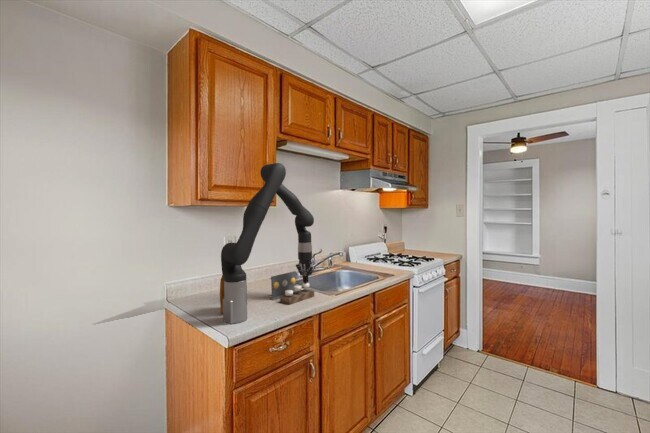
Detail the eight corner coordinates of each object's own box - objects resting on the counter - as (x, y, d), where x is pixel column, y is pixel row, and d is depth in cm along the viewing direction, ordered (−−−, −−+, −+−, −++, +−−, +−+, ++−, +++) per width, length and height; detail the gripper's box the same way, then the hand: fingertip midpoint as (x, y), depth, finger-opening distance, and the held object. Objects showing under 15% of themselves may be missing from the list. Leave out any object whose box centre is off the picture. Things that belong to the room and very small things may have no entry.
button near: (288, 296, 154) (288, 292, 153) (283, 295, 156) (283, 291, 156) (294, 294, 157) (294, 290, 156) (289, 293, 159) (289, 289, 159)
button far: (305, 288, 162) (305, 284, 162) (300, 287, 165) (300, 283, 165) (310, 287, 166) (310, 283, 165) (305, 286, 168) (305, 282, 168)
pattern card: (273, 300, 160) (272, 277, 160) (269, 299, 162) (269, 276, 162) (298, 292, 174) (297, 271, 173) (294, 291, 176) (294, 270, 175)
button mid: (297, 291, 158) (297, 287, 158) (292, 289, 161) (292, 286, 161) (303, 289, 161) (302, 285, 161) (297, 288, 164) (297, 284, 164)
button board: (289, 304, 152) (289, 298, 152) (280, 302, 157) (280, 296, 156) (314, 296, 165) (314, 290, 165) (305, 294, 170) (305, 288, 170)
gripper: (291, 250, 166) (292, 282, 167) (308, 252, 158) (309, 286, 158) (301, 248, 172) (302, 279, 172) (318, 250, 163) (319, 283, 164)
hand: (305, 282), depth 165 cm, fingers closed
